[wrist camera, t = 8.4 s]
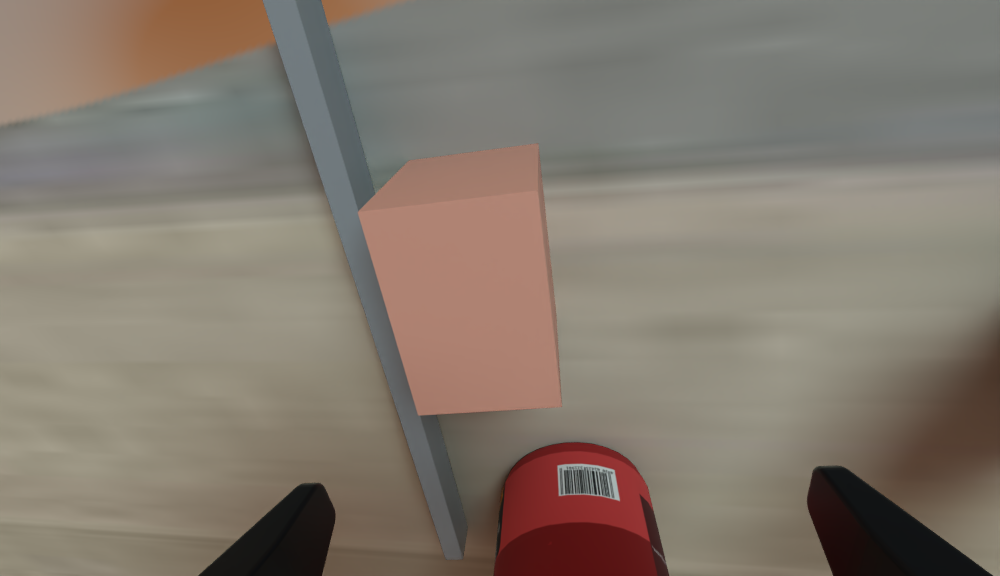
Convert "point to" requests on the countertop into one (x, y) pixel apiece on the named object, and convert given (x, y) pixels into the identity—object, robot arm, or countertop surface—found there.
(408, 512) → the countertop surface
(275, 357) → the countertop surface
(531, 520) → the canned food
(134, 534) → the countertop surface
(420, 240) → the salmon pink block
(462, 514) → the price rail
